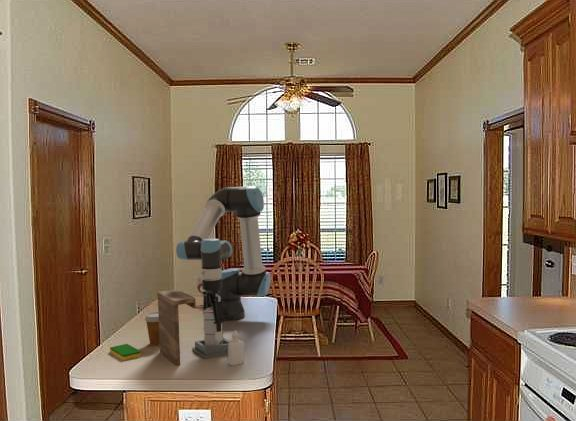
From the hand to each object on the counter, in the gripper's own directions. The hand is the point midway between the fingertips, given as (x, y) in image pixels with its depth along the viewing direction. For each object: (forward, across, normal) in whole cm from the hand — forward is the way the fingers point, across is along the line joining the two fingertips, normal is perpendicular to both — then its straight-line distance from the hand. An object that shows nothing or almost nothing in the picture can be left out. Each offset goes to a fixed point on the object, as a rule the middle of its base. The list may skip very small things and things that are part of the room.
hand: (213, 336), depth 207 cm
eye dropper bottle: (+6, +18, +1) cm, 19 cm away
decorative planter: (+6, -78, +34) cm, 85 cm away
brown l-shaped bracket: (+6, -2, -14) cm, 15 cm away
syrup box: (+3, 0, 0) cm, 3 cm away
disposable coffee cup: (+6, -24, -15) cm, 29 cm away
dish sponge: (+6, -17, -30) cm, 35 cm away
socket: (+6, 0, 0) cm, 6 cm away
